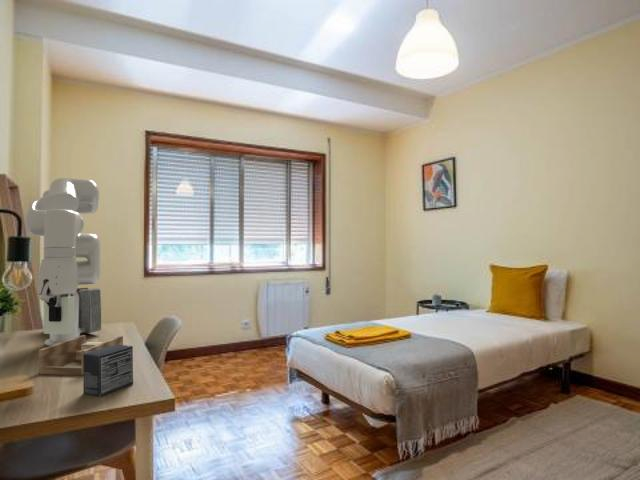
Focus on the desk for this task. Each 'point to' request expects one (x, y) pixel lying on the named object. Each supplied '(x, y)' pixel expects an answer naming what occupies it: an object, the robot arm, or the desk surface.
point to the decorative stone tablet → (89, 309)
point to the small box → (107, 370)
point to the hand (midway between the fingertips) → (59, 319)
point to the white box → (66, 317)
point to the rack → (68, 355)
